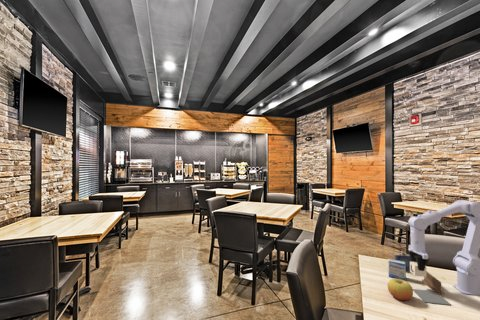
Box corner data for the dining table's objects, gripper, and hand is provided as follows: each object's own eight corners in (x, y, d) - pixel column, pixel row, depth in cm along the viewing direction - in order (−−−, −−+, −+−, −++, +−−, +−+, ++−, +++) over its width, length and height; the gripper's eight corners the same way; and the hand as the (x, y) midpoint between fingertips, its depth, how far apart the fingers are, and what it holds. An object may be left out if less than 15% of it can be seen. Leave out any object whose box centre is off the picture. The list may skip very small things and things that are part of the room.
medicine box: (388, 276, 128) (388, 261, 128) (388, 273, 132) (388, 258, 132) (406, 280, 124) (405, 264, 124) (405, 277, 127) (405, 261, 128)
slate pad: (435, 292, 112) (435, 291, 112) (451, 305, 102) (451, 304, 102) (412, 289, 114) (412, 288, 114) (425, 302, 104) (425, 301, 104)
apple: (412, 306, 101) (411, 287, 101) (386, 298, 107) (385, 280, 108) (414, 296, 108) (413, 279, 109) (389, 289, 115) (389, 273, 115)
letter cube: (420, 272, 119) (420, 262, 119) (426, 276, 114) (426, 266, 114) (409, 271, 120) (409, 261, 120) (414, 275, 115) (414, 265, 115)
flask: (395, 270, 136) (394, 251, 136) (393, 268, 139) (392, 250, 139) (413, 271, 134) (412, 253, 134) (410, 269, 136) (410, 251, 137)
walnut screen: (428, 281, 123) (427, 270, 123) (444, 294, 110) (444, 283, 110) (421, 280, 123) (421, 270, 123) (437, 294, 110) (436, 282, 111)
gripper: (402, 236, 125) (402, 261, 125) (416, 245, 111) (416, 273, 111) (416, 237, 124) (417, 262, 123) (433, 246, 109) (433, 275, 109)
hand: (418, 268), depth 117 cm, fingers closed on letter cube, 5 cm apart
